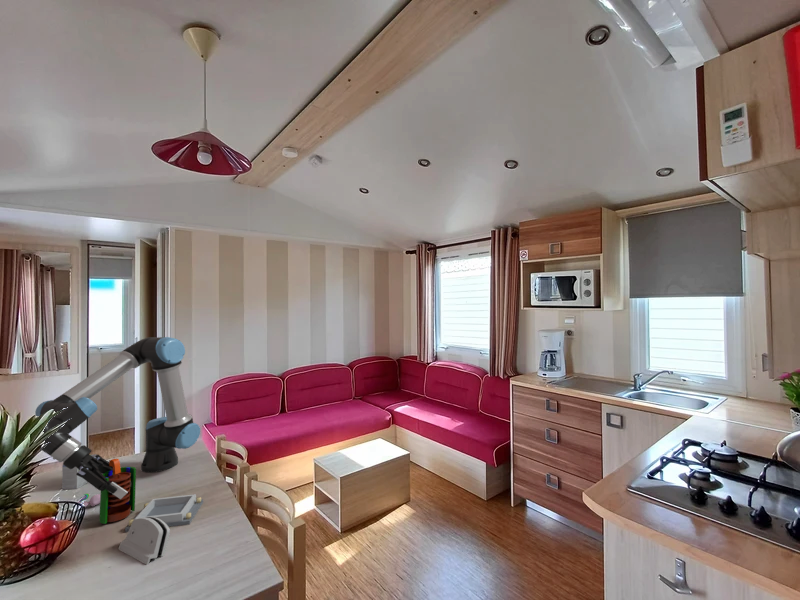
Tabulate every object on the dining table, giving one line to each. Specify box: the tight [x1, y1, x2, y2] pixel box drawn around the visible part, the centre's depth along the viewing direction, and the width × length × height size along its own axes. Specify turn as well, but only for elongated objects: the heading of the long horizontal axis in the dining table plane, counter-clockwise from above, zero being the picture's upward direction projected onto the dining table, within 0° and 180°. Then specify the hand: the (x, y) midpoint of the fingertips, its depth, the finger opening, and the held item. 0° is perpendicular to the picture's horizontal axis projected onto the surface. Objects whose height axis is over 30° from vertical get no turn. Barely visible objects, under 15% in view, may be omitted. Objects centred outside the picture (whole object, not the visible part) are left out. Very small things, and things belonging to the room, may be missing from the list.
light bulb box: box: [61, 453, 97, 490], centre depth 159 cm, size 11×7×11 cm, turn 2°
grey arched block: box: [118, 517, 171, 566], centre depth 113 cm, size 17×5×10 cm, turn 63°
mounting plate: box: [124, 493, 204, 533], centre depth 132 cm, size 15×20×4 cm
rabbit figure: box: [76, 493, 100, 508], centre depth 139 cm, size 6×6×15 cm
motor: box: [98, 458, 137, 525], centre depth 132 cm, size 10×9×20 cm
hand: (127, 490), depth 133 cm, fingers closed on motor, 7 cm apart
